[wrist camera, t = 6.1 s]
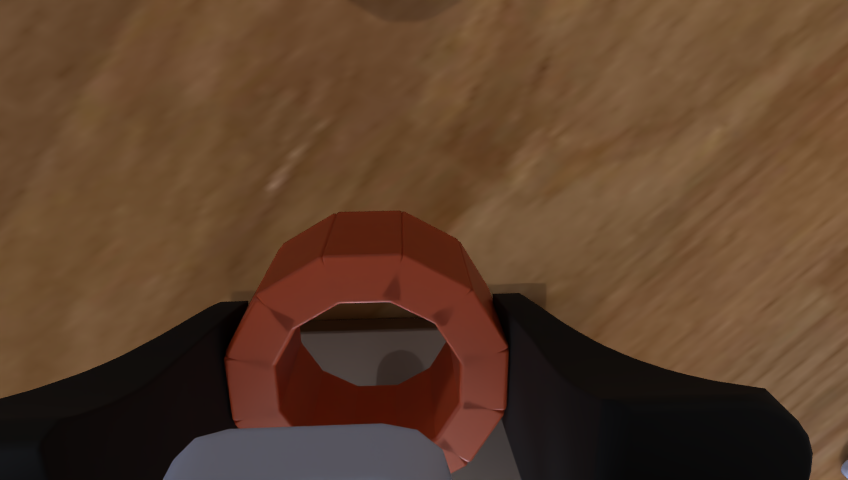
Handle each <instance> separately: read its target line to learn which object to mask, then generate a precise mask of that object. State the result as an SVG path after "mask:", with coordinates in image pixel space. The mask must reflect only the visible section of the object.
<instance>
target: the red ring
mask: <svg viewBox="0 0 848 480" xmlns="http://www.w3.org/2000/svg"><path fill="white" fill-rule="evenodd" d="M376 302H391V303H393V304H395V305H397V306H399V307H401V308H403V309H405V310H408V311H410V312H412V313H414V314H416V315H418V316H420V317H422V318H424V319H426V320H428V321H430V322H432V323H434V324H435V325H436V327H437V328H438V330H439V331H440V333H441V334H442V336H443V337H444V339H445V340H446V343H445V344H444V346H443V348H442V349H441V351H440V352H439V354H438V355H437V357H436V359H435V360H434V362H433V363H432V365H431V366H430V368H428V369H426V370H424V371H422V372H421V373H419V374H417V375H415V376H413V377H411V378H409V379H408V380H406V381H404V382H402V383H400V384H398V385H375V386H357V385H354V384H352V383H350V382H348V381H346V380H343V379H341V378H339V377H337V376H334V375H332V374H330V373H328V372H325V371H323V370H322V369H321V367H320V366H319V365H318V363H317V362H316V361H315V359H314V358H313V357H312V356H311V354H310V353H309V352H308V350H307V349H306V348H305V346H304V345H303V344H302V342H301V334H300V326H301V325H302V324H304V323H306V322H308V321H309V320H311V319H313V318H315V317H317V316H318V315H320V314H322V313H324V312H325V311H327V310H329V309H331V308H332V307H334V306H336V305H338V304H342V303H376ZM224 366H225V372H226V379H227V386H228V393H229V400H230V407H231V414H232V419H233V420H235V421H234V423H235V425H236V426H237V427H238V428H239V429H241V428H268V427H296V426H324V425H351V424H379V423H383V424H389V425H394V426H399V427H405V428H410V429H416V430H418V431H420V432H421V433H422V434H423V435H425V436H426V437H427V438H428V439H430V440H431V441H432V442H434V443H435V444H436V445H437V446H439V447H440V448H441V449H442V450H443V452H444V455H445V458H446V461H447V464H448V467H449V470H450V473H453V472H455V471H457V470H459V469H461V468H463V467H465V466H466V465H467V463H468V462H470V461H472V459H473V458H474V457H475V455H476V454H477V452H478V451H479V449H480V448H481V447H482V445H483V444H484V442H485V441H486V439H487V438H488V437H489V435H490V434H491V432H492V431H493V429H494V428H495V427H496V425H497V424H498V422H499V421H500V419H501V418H502V417H503V415H504V411H505V409H506V407H507V391H508V366H509V349H508V342H507V340H506V337H505V334H504V331H503V328H502V326H501V323H500V321H499V318H498V315H497V312H496V309H495V306H494V303H493V299H492V296H491V293H490V291H489V288H488V286H487V285H486V283H485V281H484V280H483V278H482V277H481V275H480V273H479V272H478V270H477V268H476V267H475V265H474V264H473V262H472V260H471V259H470V257H469V255H468V254H467V252H466V251H465V249H464V247H463V246H462V244H461V242H459V241H458V240H457V239H456V238H454V237H452V236H450V235H448V234H446V233H444V232H443V231H441V230H439V229H437V228H435V227H433V226H431V225H429V224H427V223H425V222H423V221H421V220H420V219H418V218H416V217H414V216H412V215H410V214H408V213H406V212H401V211H367V212H338V213H337V214H332V215H331V216H329V217H327V218H326V219H324V220H322V221H320V222H319V223H317V224H315V225H314V226H312V227H310V228H309V229H307V230H305V231H304V232H302V233H300V234H299V235H297V236H295V237H294V238H292V239H290V240H289V241H287V242H285V243H284V244H283V245H282V247H281V248H280V249H279V250H278V252H277V254H276V256H275V258H274V259H273V261H272V263H271V265H270V267H269V269H268V270H267V272H266V274H265V276H264V278H263V280H262V281H261V283H260V285H259V287H258V289H257V291H256V292H255V294H254V296H253V298H252V300H251V302H250V304H249V306H248V308H247V310H246V312H245V314H244V316H243V318H242V320H241V322H240V323H239V325H238V327H237V329H236V331H235V333H234V335H233V337H232V339H231V341H230V343H229V345H228V347H227V349H226V355H225V357H224Z"/></svg>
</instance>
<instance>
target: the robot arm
mask: <svg viewBox="0 0 848 480" xmlns="http://www.w3.org/2000/svg"><path fill="white" fill-rule="evenodd" d="M493 303H494V306H495V309H496V312H497V315H498V318H499V321H500V323H501V326H502V328H503V331H504V334H505V337H506V340H507V342H508V349H509V366H508V391H507V407H506V409H505V411H504V415H503V417H502V418H501V420H502V423H503V426H504V429H505V432H506V435H507V438H508V441H509V444H510V447H511V450H512V453H513V456H514V459H515V462H516V465H517V468H518V471H519V474H520V477H521V480H809V477H810V473H811V465H812V455H813V453H812V449H811V445H810V441H809V437H808V435H807V433H806V432H805V430H804V429H803V427H802V426H801V424H800V423H799V422H798V420H797V419H796V418H795V417H794V416H793V415H792V414H790V413H789V412H788V411H787V410H786V409H785V408H784V407H783V406H782V405H781V404H780V403H779V402H778V401H777V400H776V399H775V398H774V397H773V396H772V395H771V394H770V393H769V392H768V391H767V390H766V389H765V388H758V387H751V386H745V385H738V384H731V383H725V382H718V381H713V380H708V379H703V378H699V377H695V376H690V375H686V374H682V373H678V372H674V371H671V370H667V369H664V368H661V367H658V366H655V365H652V364H649V363H646V362H643V361H640V360H637V359H634V358H632V357H629V356H627V355H624V354H622V353H620V352H617V351H615V350H613V349H611V348H608V347H606V346H604V345H602V344H600V343H598V342H596V341H594V340H592V339H590V338H589V337H587V336H585V335H583V334H582V333H580V332H578V331H576V330H575V329H573V328H571V327H570V326H568V325H566V324H565V323H563V322H562V321H560V320H559V319H557V318H556V317H554V316H553V315H551V314H550V313H548V312H547V311H545V310H544V309H542V308H541V307H540V306H538V305H537V304H535V303H534V302H532V301H531V300H529V299H528V298H526V297H525V296H523V295H522V294H520V293H507V294H493ZM248 306H249V305H248V301H235V302H220V303H217V304H215V305H213V306H211V307H209V308H207V309H205V310H203V311H202V312H200V313H198V314H196V315H195V316H193V317H191V318H189V319H188V320H186V321H184V322H183V323H181V324H179V325H178V326H176V327H174V328H172V329H171V330H169V331H167V332H166V333H164V334H162V335H160V336H158V337H156V338H155V339H153V340H151V341H149V342H147V343H145V344H143V345H141V346H139V347H138V348H136V349H134V350H132V351H130V352H128V353H126V354H124V355H122V356H120V357H118V358H116V359H113V360H111V361H109V362H107V363H104V364H102V365H100V366H97V367H95V368H92V369H90V370H88V371H85V372H83V373H80V374H77V375H75V376H72V377H69V378H66V379H63V380H60V381H57V382H54V383H51V384H48V385H45V386H42V387H39V388H36V389H33V390H30V391H26V392H23V393H19V394H16V395H12V396H8V397H5V398H1V399H0V480H452V476H451V473H450V470H449V467H448V464H447V461H446V458H445V455H444V452H443V450H442V449H441V448H440V447H439V446H437V445H436V444H435V443H434V442H432V441H431V440H430V439H428V438H427V437H426V436H425V435H423V434H422V433H421V432H420V431H418V430H416V429H410V428H405V427H399V426H394V425H389V424H383V423H379V424H351V425H324V426H296V427H268V428H241V429H239V428H238V427H237V426H236V425H235V423H234V421H235V420H233V419H232V414H231V407H230V400H229V393H228V386H227V379H226V372H225V366H224V357H225V355H226V349H227V347H228V345H229V343H230V341H231V339H232V337H233V335H234V333H235V331H236V329H237V327H238V325H239V323H240V322H241V320H242V318H243V316H244V314H245V312H246V310H247V308H248ZM841 472H842V473H843V475H844V476H845V477H846V478H847V479H848V460H847V461H845V462H844V464H843V465H842V467H841Z"/></svg>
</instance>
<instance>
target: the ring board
mask: <svg viewBox="0 0 848 480" xmlns="http://www.w3.org/2000/svg"><path fill="white" fill-rule="evenodd" d="M300 334H301V342H302V344H303V345H304V346H305V348H306V349H307V350H308V352H309V353H310V354H311V356H312V357H313V358H314V359H315V361H316V362H317V363H318V365H319V366H320V367H321V369H322V370H323V371H325V372H328V373H330V374H332V375H334V376H337V377H339V378H341V379H343V380H346V381H348V382H350V383H352V384H354V385H357V386H375V385H398V384H400V383H402V382H404V381H406V380H408V379H409V378H411V377H413V376H415V375H417V374H419V373H421V372H422V371H424V370H426V369H428V368H430V366H431V365H432V363H433V362H434V360H435V359H436V357H437V355H438V354H439V352H440V351H441V349H442V348H443V346H444V344H445V343H446V340H445V339H444V337H443V336H442V334H441V333H440V331H439V330H438V328H437V327H436V325H435V324H434V323H432V322H430V321H428V320H426V319H424V318H388V319H353V320H318V321H308V322H306V323H304V324H302V325H301V326H300ZM451 476H452V480H521V477H520V474H519V471H518V468H517V465H516V462H515V459H514V456H513V453H512V450H511V447H510V444H509V441H508V438H507V435H506V432H505V429H504V426H503V423H502V420H501V419H500V421H499V422H498V424H497V425H496V427H495V428H494V429H493V431H492V432H491V434H490V435H489V437H488V438H487V439H486V441H485V442H484V444H483V445H482V447H481V448H480V449H479V451H478V452H477V454H476V455H475V457H474V458H473V459H472V461H470V462H468V463H467V465H466V466H465V467H463V468H461V469H459V470H457V471H455V472H453V473H451Z"/></svg>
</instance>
